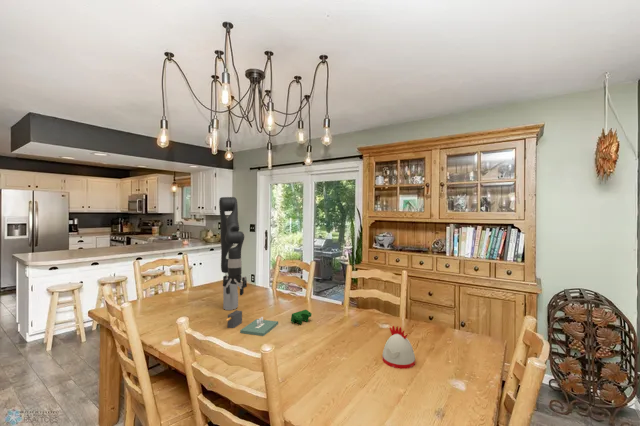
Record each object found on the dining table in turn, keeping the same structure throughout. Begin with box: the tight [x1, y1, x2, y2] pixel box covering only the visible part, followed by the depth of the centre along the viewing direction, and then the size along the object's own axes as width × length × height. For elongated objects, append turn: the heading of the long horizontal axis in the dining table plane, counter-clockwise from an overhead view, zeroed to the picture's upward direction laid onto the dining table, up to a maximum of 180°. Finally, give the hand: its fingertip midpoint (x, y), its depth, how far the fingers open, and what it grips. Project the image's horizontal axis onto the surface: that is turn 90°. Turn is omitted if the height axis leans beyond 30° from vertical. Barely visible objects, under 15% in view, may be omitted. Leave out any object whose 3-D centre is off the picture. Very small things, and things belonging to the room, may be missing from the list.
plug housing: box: [226, 309, 243, 329], centre depth 176 cm, size 12×4×7 cm, turn 163°
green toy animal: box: [290, 309, 312, 325], centre depth 183 cm, size 12×6×9 cm, turn 129°
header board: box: [239, 316, 279, 337], centre depth 173 cm, size 18×14×6 cm
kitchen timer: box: [382, 325, 416, 370], centre depth 136 cm, size 14×14×15 cm
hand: (234, 294), depth 177 cm, fingers open, 8 cm apart
